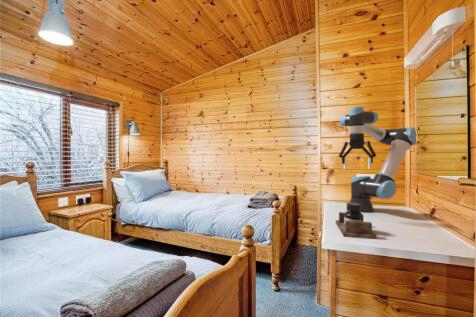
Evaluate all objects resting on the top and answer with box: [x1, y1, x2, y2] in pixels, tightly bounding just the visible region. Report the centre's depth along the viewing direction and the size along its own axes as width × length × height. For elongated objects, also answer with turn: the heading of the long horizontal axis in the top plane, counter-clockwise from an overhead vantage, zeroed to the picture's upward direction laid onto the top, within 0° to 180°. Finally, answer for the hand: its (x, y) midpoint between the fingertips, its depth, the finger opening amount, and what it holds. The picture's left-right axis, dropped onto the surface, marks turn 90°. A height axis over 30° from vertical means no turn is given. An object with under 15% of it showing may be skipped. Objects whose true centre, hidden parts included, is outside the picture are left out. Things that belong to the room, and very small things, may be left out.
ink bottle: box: [344, 201, 365, 225], centre depth 120 cm, size 10×9×12 cm
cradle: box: [335, 211, 377, 240], centre depth 120 cm, size 14×22×6 cm, turn 167°
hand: (357, 169), depth 140 cm, fingers open, 13 cm apart
